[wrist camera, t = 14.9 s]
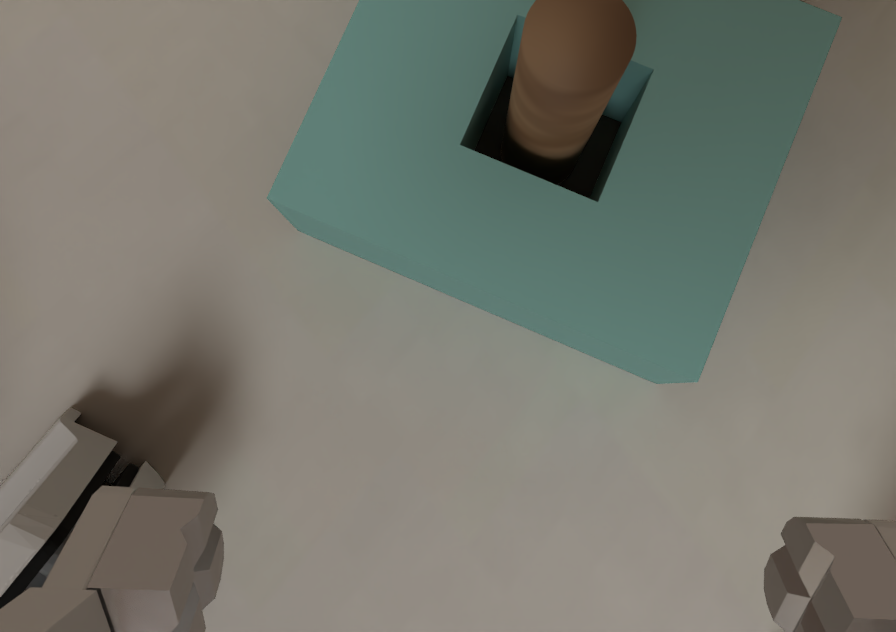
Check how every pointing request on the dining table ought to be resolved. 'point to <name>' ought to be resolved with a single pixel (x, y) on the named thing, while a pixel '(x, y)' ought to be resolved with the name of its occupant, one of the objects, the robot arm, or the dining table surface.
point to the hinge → (54, 499)
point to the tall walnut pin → (564, 82)
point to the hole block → (548, 205)
